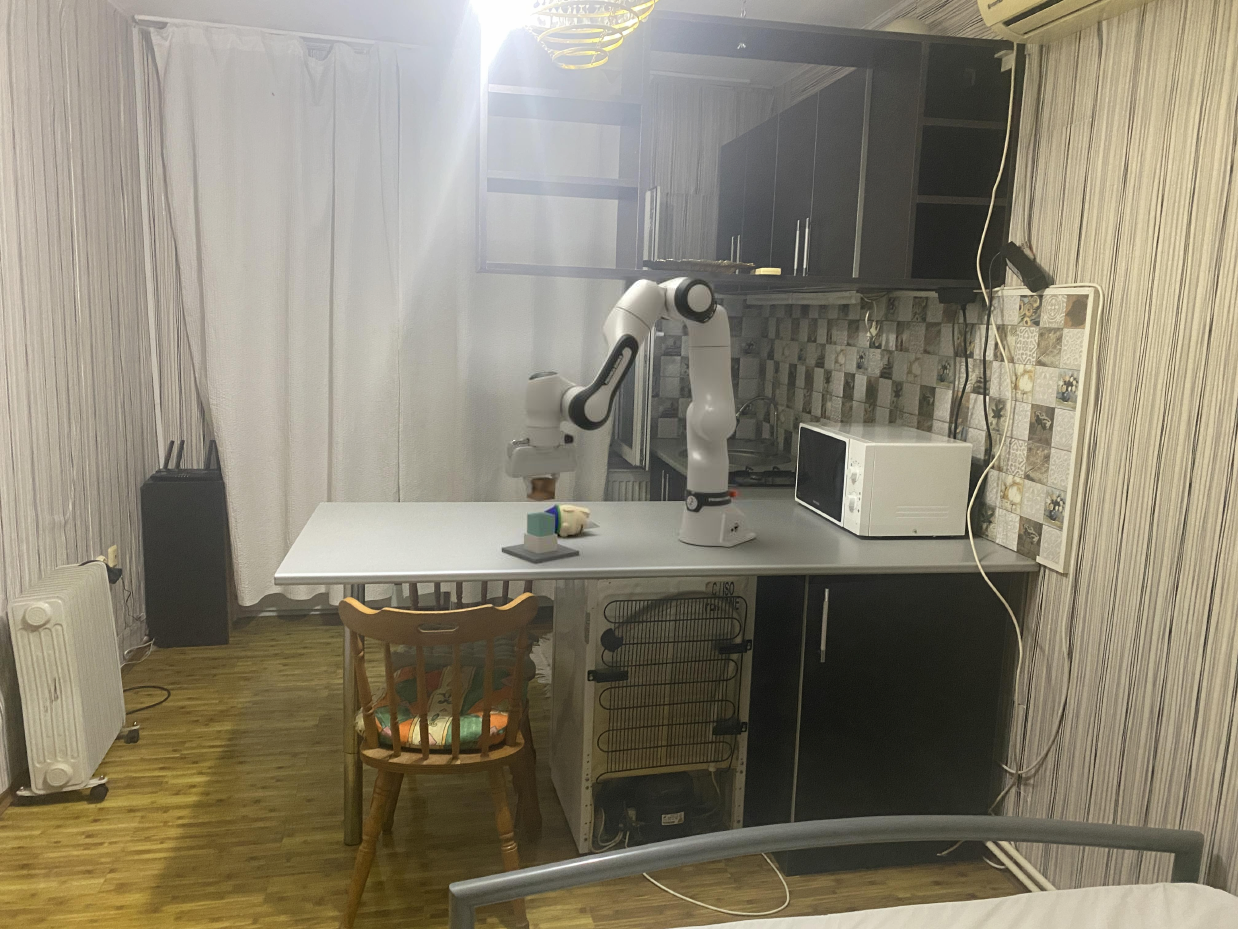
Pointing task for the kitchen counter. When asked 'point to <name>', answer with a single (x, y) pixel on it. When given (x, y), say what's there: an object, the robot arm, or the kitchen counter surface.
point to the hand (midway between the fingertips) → (541, 492)
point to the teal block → (541, 524)
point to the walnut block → (542, 488)
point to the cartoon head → (570, 519)
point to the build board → (540, 556)
